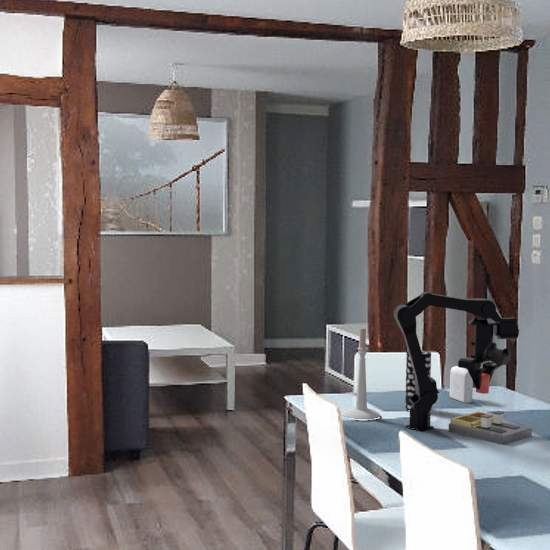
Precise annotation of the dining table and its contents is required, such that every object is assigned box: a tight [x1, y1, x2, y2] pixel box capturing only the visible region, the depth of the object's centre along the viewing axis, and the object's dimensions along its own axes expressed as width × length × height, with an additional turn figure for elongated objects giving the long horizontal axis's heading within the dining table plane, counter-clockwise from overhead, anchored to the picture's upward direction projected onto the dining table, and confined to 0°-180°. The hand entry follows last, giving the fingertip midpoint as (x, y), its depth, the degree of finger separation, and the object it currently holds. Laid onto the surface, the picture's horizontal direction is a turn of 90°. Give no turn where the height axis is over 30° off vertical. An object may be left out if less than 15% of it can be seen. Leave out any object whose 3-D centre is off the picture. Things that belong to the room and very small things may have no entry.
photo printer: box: [449, 365, 474, 404], centre depth 304 cm, size 10×4×12 cm, turn 22°
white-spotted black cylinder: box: [404, 350, 432, 410], centre depth 287 cm, size 8×8×20 cm
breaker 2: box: [492, 410, 505, 424], centre depth 259 cm, size 2×2×3 cm
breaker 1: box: [481, 413, 493, 428], centre depth 254 cm, size 2×2×3 cm
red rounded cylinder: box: [475, 373, 491, 395], centre depth 263 cm, size 4×4×6 cm
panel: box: [448, 411, 533, 445], centre depth 257 cm, size 16×20×4 cm
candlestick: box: [341, 327, 382, 419], centre depth 277 cm, size 13×13×30 cm
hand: (482, 388), depth 263 cm, fingers closed on red rounded cylinder, 4 cm apart
